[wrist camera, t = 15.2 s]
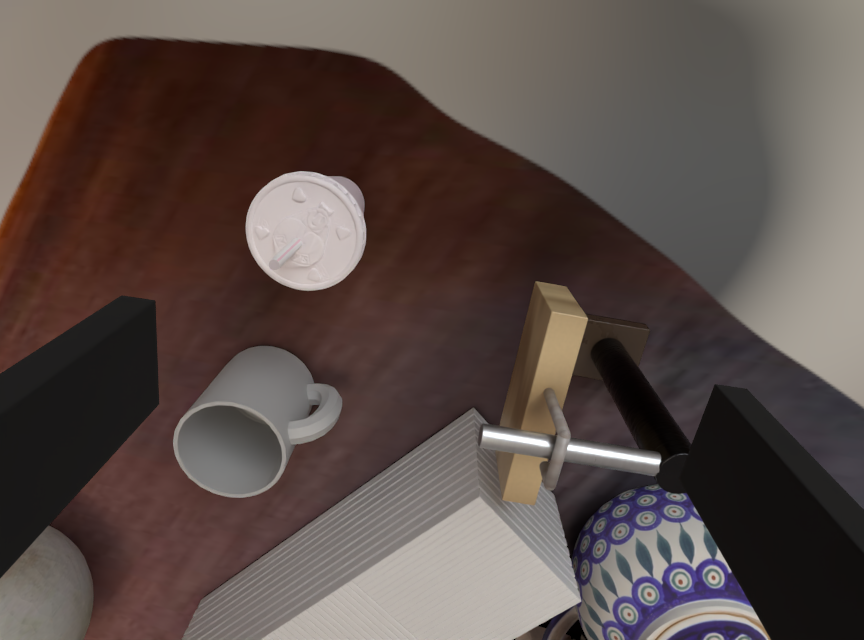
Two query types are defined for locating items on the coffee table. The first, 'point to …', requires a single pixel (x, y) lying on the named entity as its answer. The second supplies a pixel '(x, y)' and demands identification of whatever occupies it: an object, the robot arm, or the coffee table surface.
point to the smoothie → (307, 229)
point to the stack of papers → (407, 559)
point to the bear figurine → (540, 635)
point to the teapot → (654, 576)
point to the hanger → (541, 389)
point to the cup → (253, 422)
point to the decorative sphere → (47, 592)
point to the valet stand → (635, 399)
